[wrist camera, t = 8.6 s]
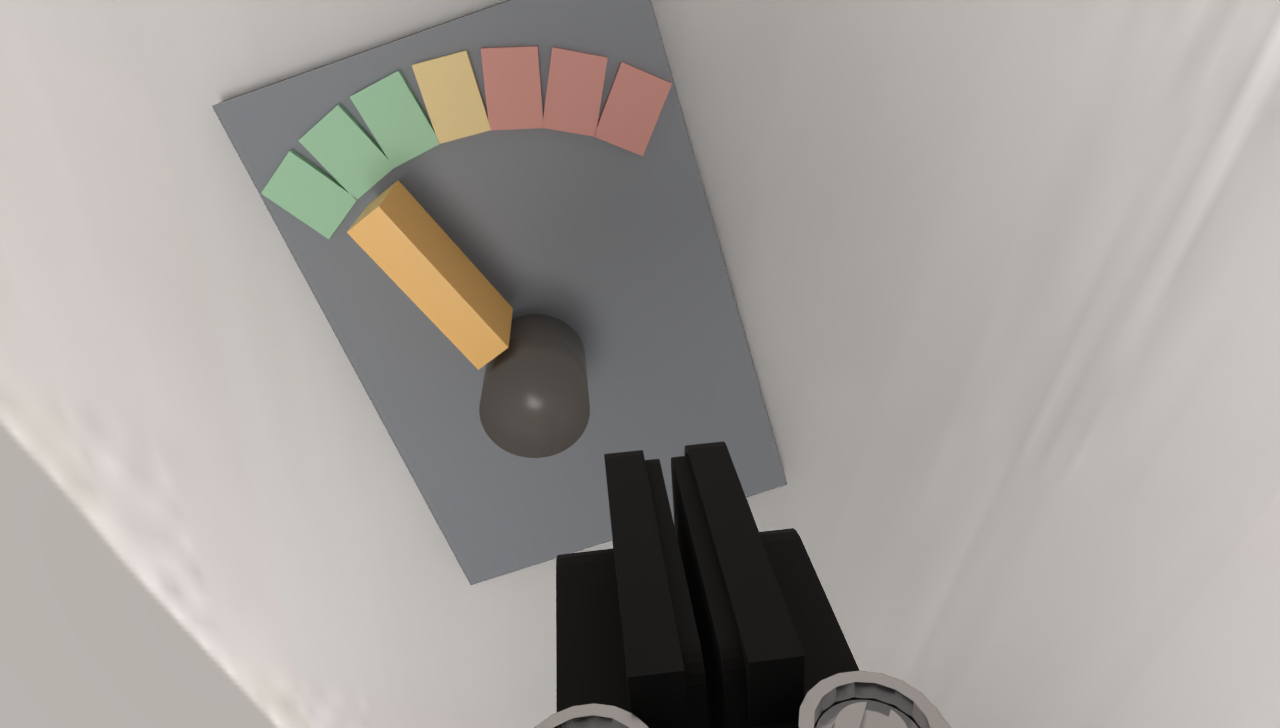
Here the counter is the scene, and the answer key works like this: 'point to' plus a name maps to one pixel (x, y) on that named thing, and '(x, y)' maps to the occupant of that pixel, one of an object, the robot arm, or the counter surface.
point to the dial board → (519, 254)
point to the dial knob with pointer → (483, 329)
